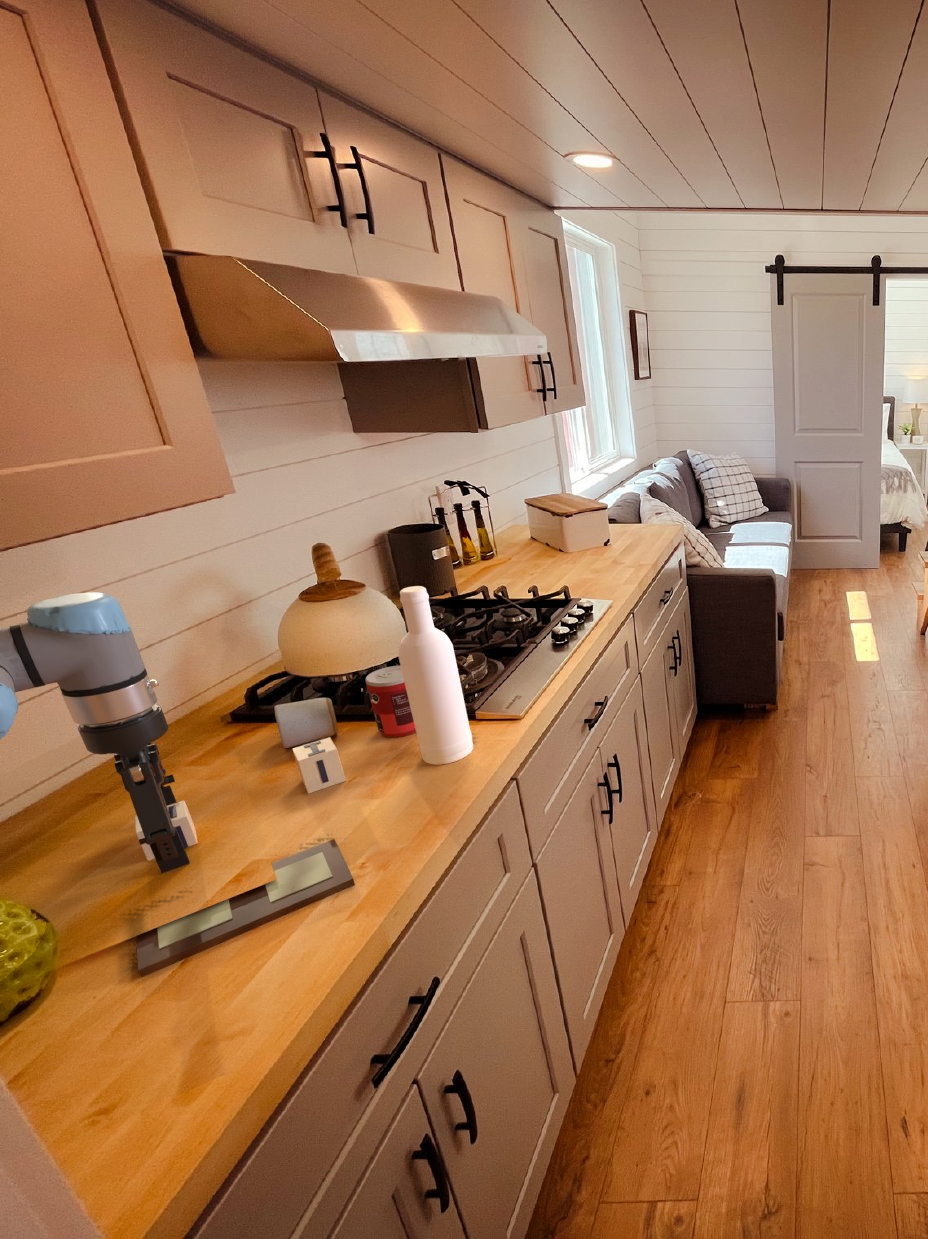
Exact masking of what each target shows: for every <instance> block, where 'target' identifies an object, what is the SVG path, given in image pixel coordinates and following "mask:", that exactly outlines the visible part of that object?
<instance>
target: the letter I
mask: <svg viewBox="0 0 928 1239" xmlns="http://www.w3.org/2000/svg"><path fill="white" fill-rule="evenodd" d="M292 752H293V756H294V759H295V762H296V766H297V769H298V772H299V776H300V778H301V781H302V783H303V786H304V788H305V790H306V792H307V794H308V795H309V794H312V793H314V792H317V791H321V790H324V789H326V788H329V787H332V786H335V785H338V784H341V783H344V782H346V781H347V779H346V775H345V773H344V768H343V766H342V765H343V764H342V761H341V758H340V754H339V751H338V749H337V747H336V744H335V743H334V741H333V740H332V737H331V736H330V737H327V738H323V739H319V740H315V741H312V742H308V743H305V744H302V745H298V746H295V747H293V748H292Z"/></svg>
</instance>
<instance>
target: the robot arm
mask: <svg viewBox="0 0 928 1239" xmlns="http://www.w3.org/2000/svg"><path fill="white" fill-rule="evenodd" d="M26 615H27V619H26V620H27V621H26V622H21V623H19V624H15V625H10V626H4V627H0V740H2V739H3V738H4V737H6V736H7V734H8V733H9V732H10V730H11V728H12V726H13V724H14V722H15V718H16V715H17V714H18V711H19V706H20V705H19V701H18V697H17V695H16V693H18V692H23V691H27V690H32V689H35V688H36V689H37V688H39V687H44V686H47V685H52V684H57V685H58V686H59V689H60V692H61V696H62V698H63V701H64V703H65V705H66V708H67V710H68V712H69V714H70V716H71V719H72V721H73V722H74V723H75V724H78V726H77V731H78V733H79V736H80V737H81V740H82V742H83V744H84V747H85V749H86V750H87V752H89V753H91V754H94V755H108V754H110V755H111V754H113V757H114V760H115V762H114V763H113V764H114V767H115V771H116V773H117V774H118V775H119V776H120V777H121V780H122V783H123V786H124V790H125V791H126V792H128V794H129V798H130V800H131V804H132V806H133V808H134V812H135V814H136V815H137V817H138V820H139V823H140V825H141V828H142V831H143V834H144V837H145V838H142V839H139V840H138V843H139V845H140V846H141V845H142V844H145V843H146V844H148V845H150V847H151V850H152V852H153V854H154V857H155V859H154V860H155V862H156V863H157V866H158V868H159V870H160V873H161V874H164V873H165V874H166V873H168V872H171V871H173V870H176V869H179V868H181V867H184V866H187V865H189V864H190V863H191V862H190V859H189V856H188V854H187V851H186V848H184V846H183V844H182V841H181V839H180V836H179V834H178V831H177V829H176V828H175V827H174V826H173V824H172V821H171V818H170V815H169V812H168V809H167V806H168V805H171V804H174V803H177V802H178V801H177V800H176V797H175V794H174V792H173V788H172V787H171V785H170V784H172V783H176V780H175V777H174V774H173V773H172V774H168V775H166V774H167V769H166V768H164V766H163V764H162V759H161V757H160V751H159V747H158V745H157V743H153V742H156V741H157V740H159V739H161V738H162V737H163V736H165V734H166V733H167V732H168V730H169V724H168V722H167V719H166V717H165V714H164V712H163V710H162V706H161V705H159V704H157V702H158V698H157V695H156V693H155V690H154V688H157V687H158V686H159V685H160V683H159V681H158V680H157V679H151V680H149V678H150V677H149V675H148V671H147V668H146V666H145V663H144V660H143V658H142V655H141V653H140V650H139V647H138V645H137V642H136V639H135V636H134V633H133V630H132V628H131V626H130V623H129V621H128V619H127V617H126V615H125V613H124V611H123V608H122V607H121V605H120V602H119V600H118V599H117V598H115V597H114V596H112V595H110V594H107V593H104V592H81V593H80V592H79V593H71V594H64V595H60V596H59V595H58V596H57V597H54V598H48V599H44V600H40V601H37V602H35V603H33V604H32V605H30V606H29V607H28V608H27V609H26Z"/></svg>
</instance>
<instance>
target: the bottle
mask: <svg viewBox="0 0 928 1239" xmlns="http://www.w3.org/2000/svg"><path fill="white" fill-rule="evenodd" d="M399 596H400V598H399V601H400V603H401V604H402V605H401V606H402V609H403V613H404V618H405V623H406V627H407V631H408V632H406V634H405V635H404V636H403V637H402V638H401V640H400V642H399V647H398V654H397V656H398V660H399V664H400V665H399V666H401V669H402V673H403V678H404V682H405V686H406V690H407V695H408V699H409V703H410V707H411V712H412V716H413V720H414V724H415V729H416V732H415V734H416V736H417V740H418V748H419V752H420V754H421V758H422V761H423V762H425V763H426V764H430V765H434V766H435V765H436V766H438V765H439V766H440V765H441V766H442V765H448V764H451V763H454V762H457V761H460V760H462V759H464V758H465V757H467V756H468V755H469V754H471V753H472V751H473V749H474V742H473V734H472V730H471V728H470V723H469V717H468V713H467V708H466V702H465V700H464V699H465V697H464V694H463V688H462V684H461V679H460V674H459V669H458V664H457V658H456V654H455V650H454V644H453V643H452V641H451V639H450V638H449V636H448V635H447V634H446V633H445V632H444V631H442V630H440V629H438V628H437V627H435V625H434V624H435V623H434V620H433V614H432V611H431V610H432V609H431V607H430V600H429V597H430V595H429V593H428V591H427V588H426V587H425V586H421V585H414V586H407V587H404V588H402V589H401V590H400V591H399Z"/></svg>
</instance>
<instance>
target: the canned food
mask: <svg viewBox="0 0 928 1239" xmlns="http://www.w3.org/2000/svg"><path fill="white" fill-rule="evenodd" d="M365 684H366V689H367V693H368V696H369V700H370V705H371V708H372V712H373V715H374V720H375V723H376V726H377V730H378V732H379V733H380V735H382V736H384V737H387V738H400V737H406V736H410V735H412V734H416V729H415V724H414V720H413V716H412V712H411V707H410V703H409V699H408V695H407V690H406V686H405V682H404V678H403V673H402V669H401V665H393V666H387V667H382V668H380V669H377V670H374V671H372V672H370V673H369V674H368V675H367V676H365Z"/></svg>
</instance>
